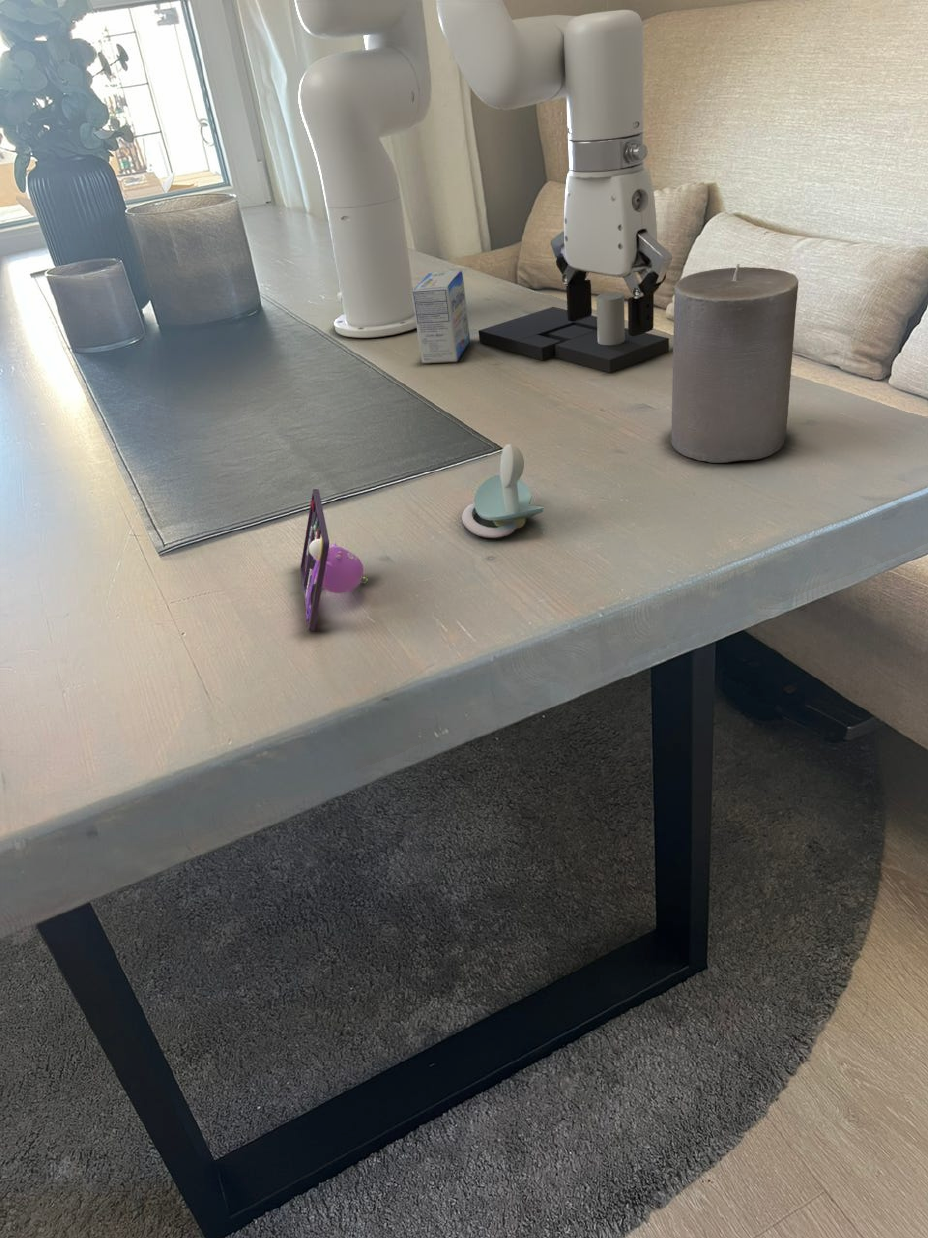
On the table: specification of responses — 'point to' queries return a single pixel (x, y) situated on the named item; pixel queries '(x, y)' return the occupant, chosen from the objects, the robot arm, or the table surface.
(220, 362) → the table surface
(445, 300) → the medicine box
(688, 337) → the pillar candle
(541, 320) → the big pad
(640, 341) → the small pad
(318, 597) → the purple panel with bulb
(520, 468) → the pacifier
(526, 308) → the table surface
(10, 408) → the table surface
